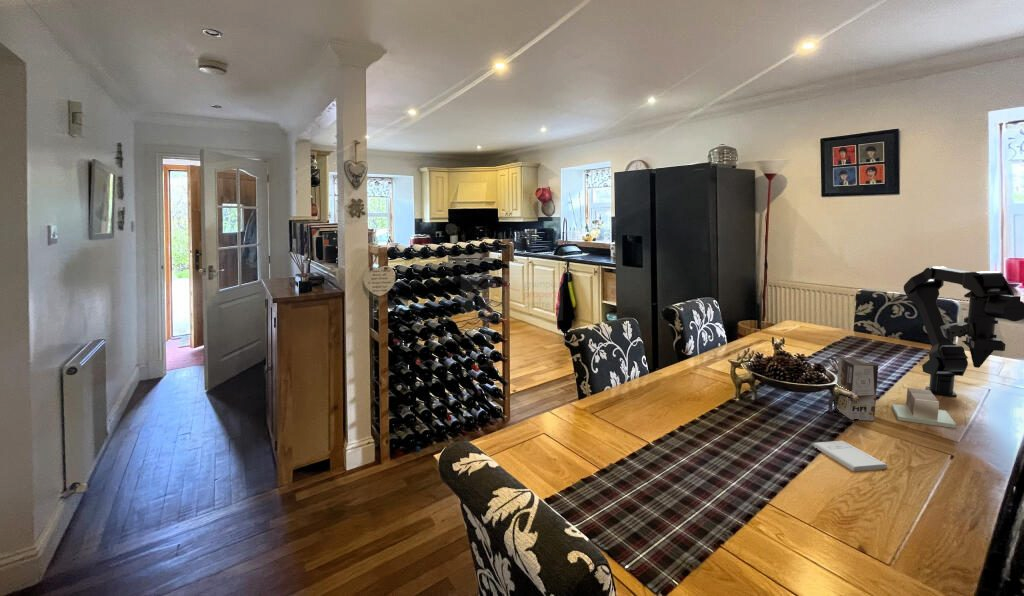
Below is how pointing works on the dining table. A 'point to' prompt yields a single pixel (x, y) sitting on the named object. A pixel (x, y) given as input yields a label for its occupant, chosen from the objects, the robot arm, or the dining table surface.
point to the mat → (906, 415)
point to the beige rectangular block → (922, 403)
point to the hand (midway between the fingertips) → (976, 367)
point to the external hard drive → (849, 456)
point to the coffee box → (857, 387)
